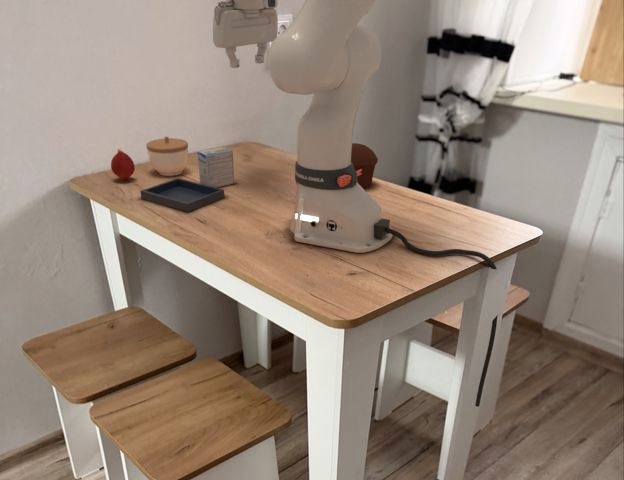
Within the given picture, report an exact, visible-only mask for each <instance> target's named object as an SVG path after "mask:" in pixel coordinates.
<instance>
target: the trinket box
mask: <svg viewBox="0 0 624 480" xmlns="http://www.w3.org/2000/svg"><path fill="white" fill-rule="evenodd" d="M145 146H146V150H147V156H148V159H149V162H150V164H151V166H152V168H153V169H154V170H155V171H156V172H158V174H159V175H160V176H164V177H173V176H178V175H180V174H182V173H183V171H184V170H185V168H186V167H187V164H188V160H189V148H188V147H189V143H188V141H187V140H184V139H182V138H174V137H173V138H171V137H170V138H169V136H164V137H163V138H158V139H153V140H150V141H148V142H147V143H146V145H145Z"/></svg>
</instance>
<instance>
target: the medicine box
mask: <svg viewBox="0 0 624 480" xmlns="http://www.w3.org/2000/svg"><path fill="white" fill-rule="evenodd" d="M197 162H198V163H197V164H198V176H199V183H200V184H204V185H208V186H212V187H215V188H220V187H225V186H229V185H232V184H233V185H234V184H235V183H236V180H235V165H234V162H235V161H234V151H233V150H232V149H230V148H228V147H225V146H219V147H214V148H209V149H204V150H199V151H197Z"/></svg>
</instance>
